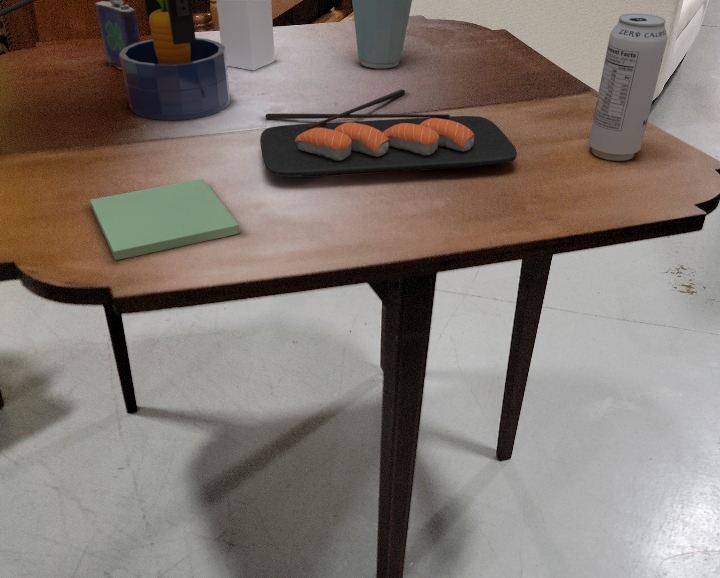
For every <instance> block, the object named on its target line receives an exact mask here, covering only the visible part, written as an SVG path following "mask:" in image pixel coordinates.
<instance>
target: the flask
mask: <svg viewBox="0 0 720 578" xmlns="http://www.w3.org/2000/svg"><path fill="white" fill-rule="evenodd" d="M94 5H95V9H96V13H97V19H98V23H99V27H100V28H99V29H100V34H101V38H102V44H103V49H104V55H105V60H106V63H107V64H108V65H109V66H113V67H116V69H119V70H122V67H121V62H120V57H119V54H120V52H121V51H122V49H123V48H125V47H128V46H130V45H132V44H134V43H138V42H142V40H141V37H140V31H139V30H140V29H139V26H138V20H137V14H136V13H137V12H136V9H134V8H133V7H131V6H129V4H126V3H125V2H124V1H123V0H109V1H105V0H101V1H98V2H95V4H94Z"/></svg>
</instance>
